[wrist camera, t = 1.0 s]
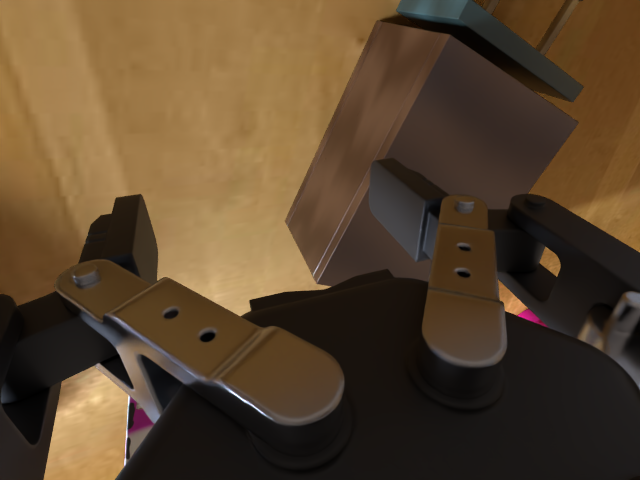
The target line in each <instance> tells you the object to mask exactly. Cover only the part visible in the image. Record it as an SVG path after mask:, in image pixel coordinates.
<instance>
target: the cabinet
mask: <svg viewBox="0 0 640 480" xmlns="http://www.w3.org/2000/svg"><path fill="white" fill-rule="evenodd" d="M578 123H579V122H578V121H576V120H575V119H573V118H572V117H570V116H569V115H567V114H566V113H565V112H563V111H562V110H560V109H559V108H557V107H556V106H554V105H553V104H551V103H550V102H548V101H547V100H545V99H544V98H543V97H541V96H540V95H538V94H537V93H535V92H534V91H532V90H531V89H529V88H528V87H526V86H525V85H523V84H522V83H521V82H519V81H518V80H516V79H515V78H513V77H512V76H510V75H509V74H507V73H506V72H504V71H503V70H501V69H500V68H499V67H497V66H496V65H494V64H493V63H491V62H490V61H488V60H487V59H485V58H484V57H482V56H481V55H480V54H478V53H477V52H475V51H474V50H472V49H471V48H469V47H468V46H466V45H465V44H463V43H462V42H460V41H459V40H458V39H456V38H455V37H453V36H452V35H450V34H445V33H438V32H433V31H428V30H423V29H418V28H413V27H407V26H402V25H397V24H392V23H387V22H382V21H376V23H375V26H374V28H373V30H372V32H371V34H370V37H369V39H368V41H367V43H366V45H365V47H364V50H363V52H362V54H361V56H360V58H359V61H358V63H357V65H356V67H355V69H354V71H353V74H352V76H351V78H350V80H349V82H348V85H347V87H346V89H345V91H344V93H343V95H342V98H341V100H340V102H339V104H338V106H337V109H336V111H335V113H334V115H333V117H332V120H331V122H330V124H329V126H328V128H327V130H326V133H325V135H324V137H323V139H322V141H321V144H320V146H319V148H318V150H317V152H316V154H315V157H314V159H313V161H312V163H311V165H310V168H309V170H308V172H307V174H306V176H305V178H304V181H303V183H302V185H301V187H300V189H299V192H298V194H297V196H296V198H295V200H294V202H293V205H292V207H291V209H290V211H289V213H288V216H287V218H286V220H285V223H286V225H287V226H288V228H289V230H290V232H291V234H292V236H293V238H294V240H295V242H296V244H297V246H298V248H299V250H300V252H301V254H302V256H303V258H304V259H305V261H306V263H307V265H308V267H309V269H310V271H311V273H312V275H313V278H314V280H315V282H316V284H321V285H326V286H335V285H337V284H339V283H341V282H344V281H346V280H348V279H350V278H352V277H355V276H358V275H362V274H366V273H371V272H375V271H380V270H384V269H388V270H389V271H390V272H391V273H392V275H393V276H394V277H402V278H413V279H418V280H423V281H426V282H428V277H429V271H430V265H431V259H428V260H424V261H419V262H416V261H415V260H414V259H413V258H412V257H411V256H410V255H409V254H408V253H407V252H406V250H405V249H404V248H403V247H402V246H401V245H400V244H399V243H398V242H397V241H396V240H395V238H394V237H393V236H392V235H391V234H390V233H389V232H388V231H387V230H386V229H385V228H384V226H383V225H382V224H381V223H380V222H379V221H378V220H377V219H376V218H375V217H374V215H373V214H372V212H371V210H370V207H369V184H370V168H371V164H372V162H373V161H374V160H380V159H387V158H394V159H396V160H397V161H398V162H400V163H401V164H402V165H404V166H405V167H406V168H408V169H411V170H413V171H416V172H419V173H420V174H422V175H423V176H424V177H426V178H427V180H430V181H431V182H433V183H434V184H435V185H437V186H438V187H440V188H441V189H442V190H444V191H445V192H447V193H448V194H449V195H453V194H464V195H470V196H474V197H477V198H479V199H481V200H483V201H484V202H485V203H486V204H487V207H488V209H508V208H509V204H510V201H511V198H512V197H513V196H515V195H519V194H528V192H529V191H530V189H531V188H532V187H533V185H534V184H535V183H536V181H537V180H538V178H539V177H540V176H541V174H542V173H543V171H544V170H545V169H546V167H547V166H548V165H549V163H550V162H551V160H552V159H553V158H554V156H555V155H556V154H557V152H558V151H559V149H560V148H561V147H562V145H563V144H564V142H565V141H566V140H567V138H568V137H569V136H570V134H571V133H572V131H573V130H574V129H575V127H576V126H577V125H578Z"/></svg>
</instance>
